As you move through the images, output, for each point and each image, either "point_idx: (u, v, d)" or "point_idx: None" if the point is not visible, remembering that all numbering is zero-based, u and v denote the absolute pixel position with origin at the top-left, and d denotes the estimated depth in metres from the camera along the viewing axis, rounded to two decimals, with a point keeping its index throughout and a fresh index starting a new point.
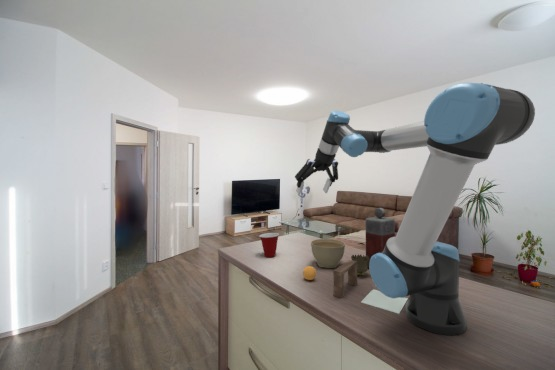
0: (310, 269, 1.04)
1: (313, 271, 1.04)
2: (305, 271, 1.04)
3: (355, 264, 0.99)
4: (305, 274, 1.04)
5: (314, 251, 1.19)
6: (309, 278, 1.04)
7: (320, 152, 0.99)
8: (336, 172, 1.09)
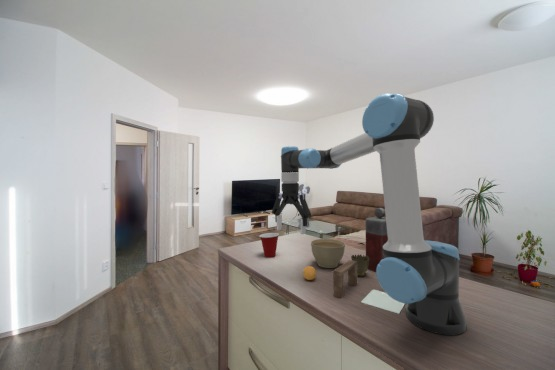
0: (310, 269, 1.04)
1: (313, 271, 1.04)
2: (305, 271, 1.04)
3: (355, 264, 0.99)
4: (305, 274, 1.04)
5: (314, 251, 1.19)
6: (309, 278, 1.04)
7: None
8: (303, 207, 1.05)
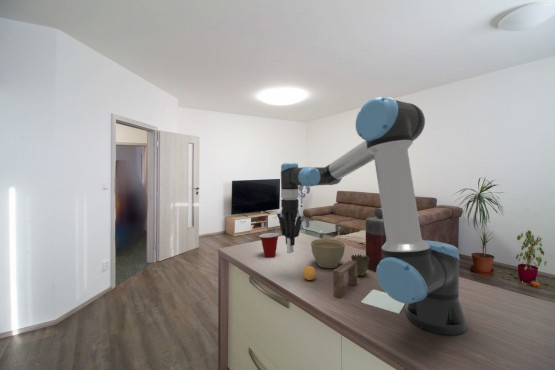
0: (310, 269, 1.04)
1: (313, 271, 1.04)
2: (305, 271, 1.04)
3: (355, 264, 0.99)
4: (305, 274, 1.04)
5: (314, 251, 1.19)
6: (309, 278, 1.04)
7: None
8: (295, 227, 1.08)
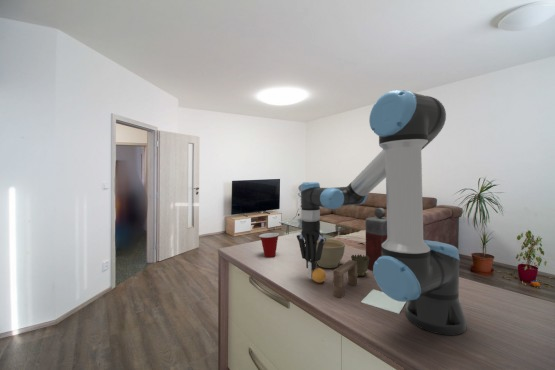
0: (322, 276, 1.01)
1: (323, 278, 1.01)
2: (317, 274, 1.01)
3: (355, 264, 0.99)
4: (315, 276, 1.01)
5: None
6: (316, 281, 1.02)
7: None
8: (318, 251, 1.01)
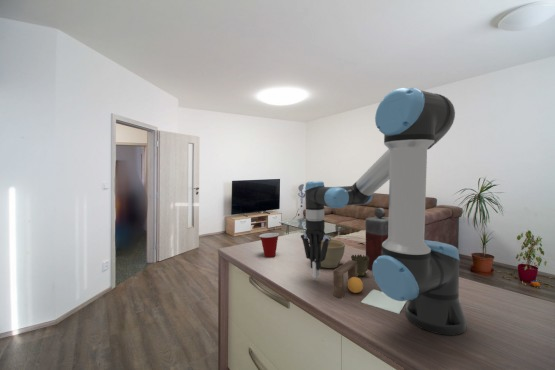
0: (356, 280, 0.92)
1: (360, 282, 0.92)
2: (351, 283, 0.92)
3: (355, 264, 0.99)
4: (351, 286, 0.92)
5: None
6: (356, 291, 0.92)
7: None
8: (322, 251, 1.00)
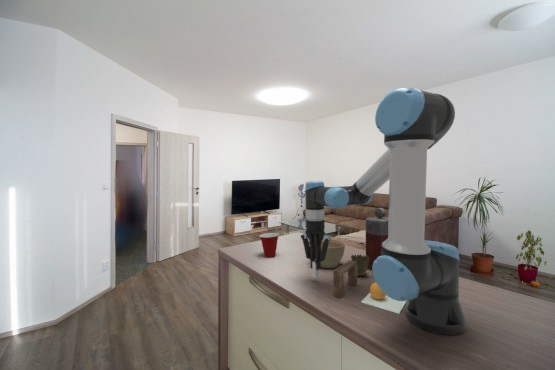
0: (375, 298, 0.88)
1: None
2: (378, 297, 0.86)
3: (355, 264, 0.99)
4: (376, 294, 0.86)
5: None
6: (371, 288, 0.88)
7: None
8: (322, 251, 1.00)
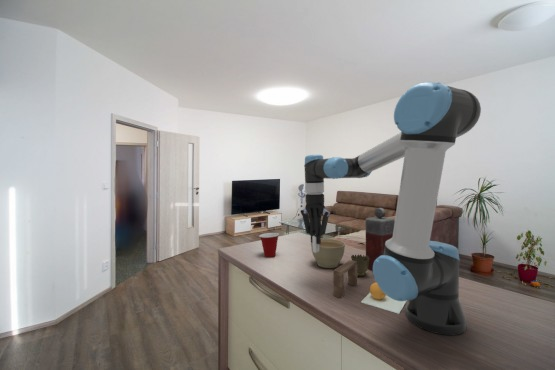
0: (375, 298, 0.88)
1: None
2: (378, 297, 0.86)
3: (355, 264, 0.99)
4: (376, 294, 0.86)
5: None
6: (371, 288, 0.88)
7: None
8: (322, 224, 1.00)
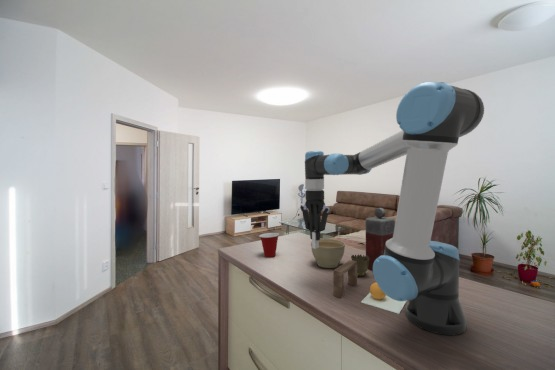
0: (375, 298, 0.88)
1: None
2: (378, 297, 0.86)
3: (355, 264, 0.99)
4: (376, 294, 0.86)
5: (314, 251, 1.19)
6: (371, 288, 0.88)
7: None
8: (322, 220, 1.00)
